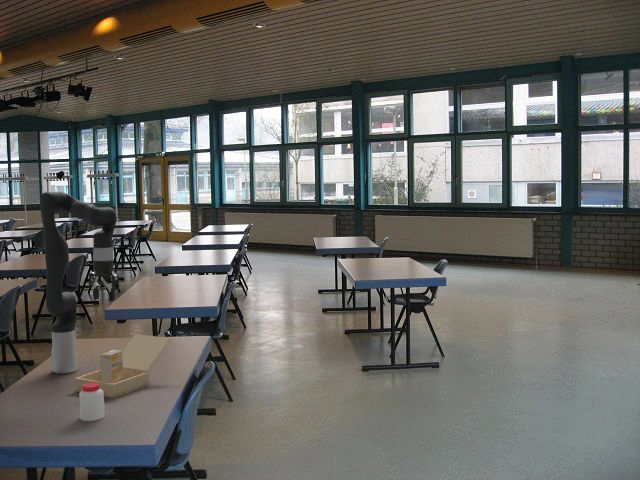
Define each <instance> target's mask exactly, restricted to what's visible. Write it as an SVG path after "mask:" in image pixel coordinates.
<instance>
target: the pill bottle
mask: <svg viewBox="0 0 640 480" xmlns="http://www.w3.org/2000/svg"><path fill="white" fill-rule="evenodd" d="M82 388H83V390H82V391H81V392H79V395H78V397H79V399H78V400H79V416H80V420H81V421H83V422H93V421H94V422H95V421H98V420H99V421H100V420H101V419H103V418H105V413H106V412H105V396H104V391H103V390H102V389H101V388H100V384H99V383H87V384H84V385H83V386H82Z"/></svg>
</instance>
